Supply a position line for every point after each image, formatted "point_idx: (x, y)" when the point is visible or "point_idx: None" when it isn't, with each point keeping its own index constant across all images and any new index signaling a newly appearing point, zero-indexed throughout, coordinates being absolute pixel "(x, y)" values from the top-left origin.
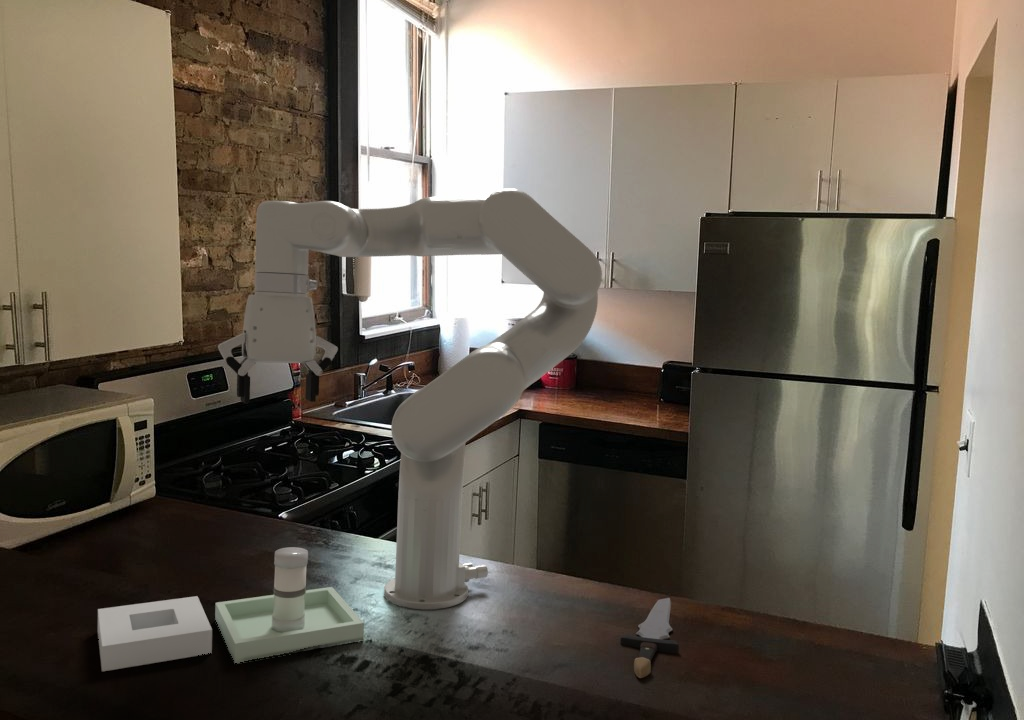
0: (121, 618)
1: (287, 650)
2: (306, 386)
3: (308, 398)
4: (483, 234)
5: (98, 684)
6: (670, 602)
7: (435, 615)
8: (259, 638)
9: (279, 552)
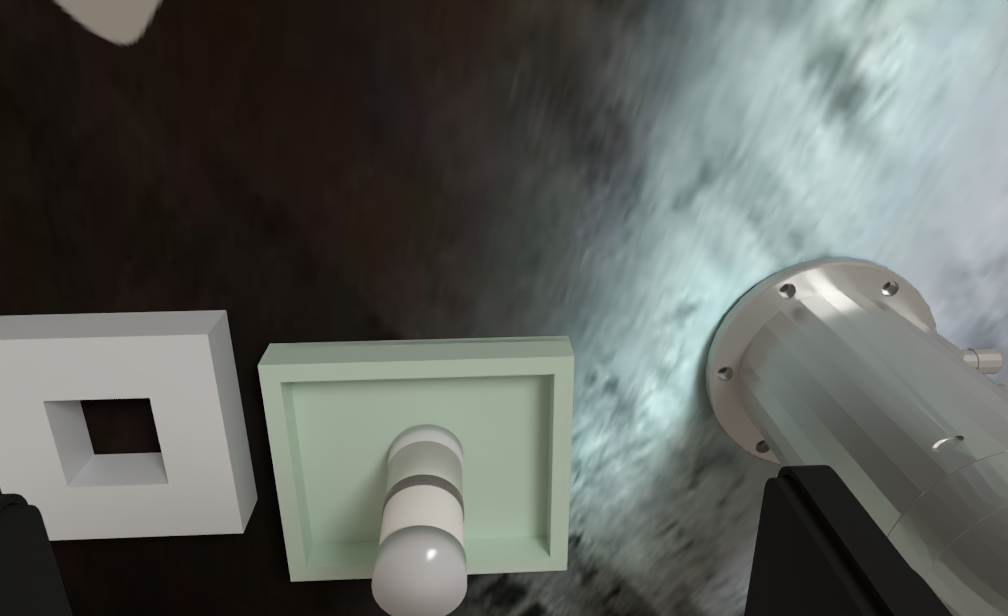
0: (28, 418)
1: None
2: (837, 611)
3: (757, 594)
4: None
5: (52, 548)
6: None
7: (763, 475)
8: (341, 573)
9: (385, 581)
